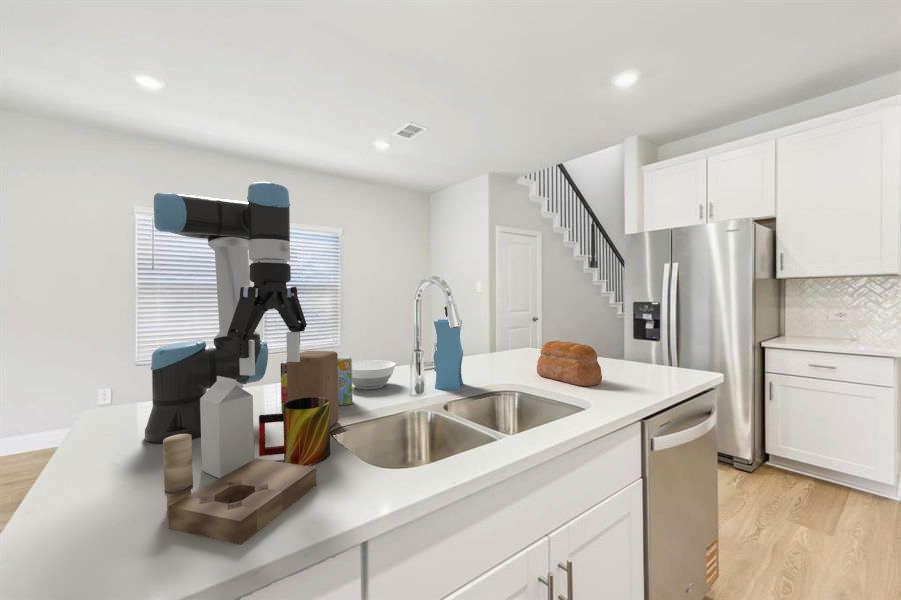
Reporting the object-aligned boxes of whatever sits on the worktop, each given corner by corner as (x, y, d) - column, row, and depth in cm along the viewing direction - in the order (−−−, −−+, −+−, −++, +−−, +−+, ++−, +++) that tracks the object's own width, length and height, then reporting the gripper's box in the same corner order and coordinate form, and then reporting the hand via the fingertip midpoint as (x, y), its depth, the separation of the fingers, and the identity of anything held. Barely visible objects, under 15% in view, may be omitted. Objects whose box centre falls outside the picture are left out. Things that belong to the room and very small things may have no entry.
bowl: (391, 393, 141) (391, 370, 141) (336, 393, 141) (336, 370, 141) (399, 380, 160) (398, 359, 160) (351, 380, 161) (351, 360, 160)
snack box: (351, 400, 132) (350, 355, 132) (352, 405, 127) (351, 358, 126) (282, 406, 125) (281, 359, 125) (280, 412, 120) (279, 362, 120)
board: (168, 528, 62) (168, 506, 62) (256, 475, 79) (255, 458, 79) (240, 544, 58) (240, 521, 58) (316, 485, 75) (316, 467, 75)
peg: (158, 511, 66) (156, 441, 66) (181, 499, 70) (179, 432, 70) (177, 515, 65) (175, 443, 65) (199, 503, 69) (197, 435, 69)
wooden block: (321, 435, 101) (320, 357, 100) (286, 432, 103) (284, 356, 102) (340, 422, 111) (339, 350, 110) (307, 419, 113) (306, 349, 112)
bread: (583, 388, 145) (584, 347, 145) (532, 375, 167) (532, 340, 167) (606, 383, 153) (606, 344, 152) (554, 372, 175) (554, 337, 174)
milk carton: (220, 480, 77) (217, 383, 77) (201, 471, 81) (199, 379, 81) (254, 466, 83) (252, 376, 83) (235, 458, 87) (233, 372, 87)
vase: (438, 382, 156) (437, 319, 155) (463, 383, 154) (462, 319, 153) (433, 389, 146) (433, 321, 145) (460, 389, 144) (460, 321, 144)
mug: (258, 460, 86) (257, 405, 86) (321, 444, 95) (320, 394, 94) (270, 476, 79) (268, 417, 78) (336, 457, 87) (336, 404, 87)
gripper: (238, 257, 66) (241, 383, 67) (321, 265, 91) (323, 357, 91) (202, 258, 68) (205, 380, 69) (293, 266, 92) (294, 356, 93)
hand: (272, 367), depth 80 cm, fingers open, 13 cm apart
